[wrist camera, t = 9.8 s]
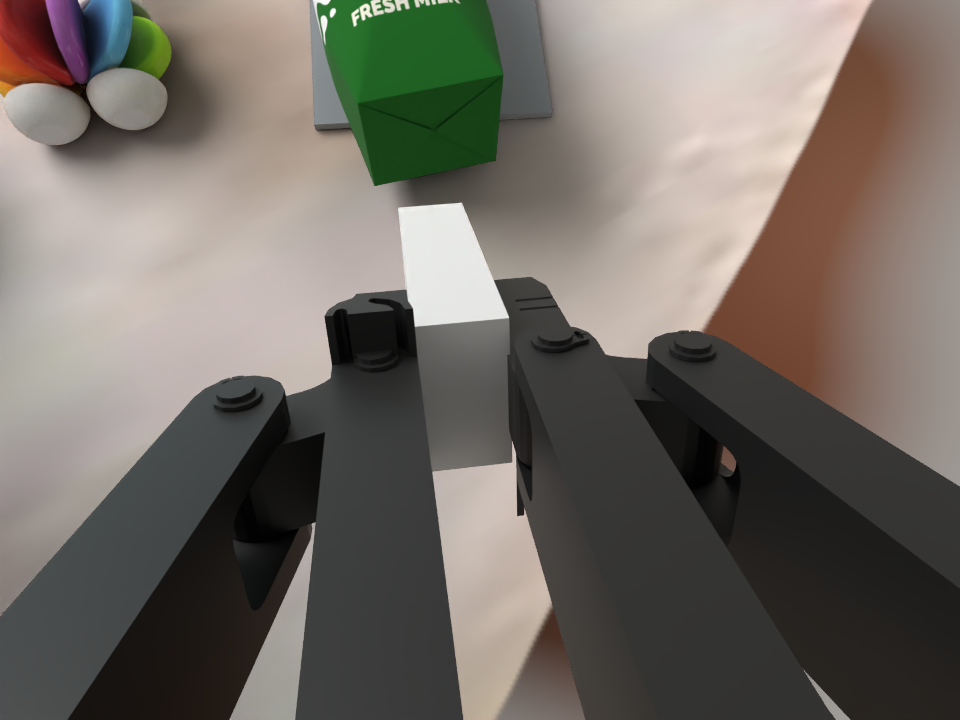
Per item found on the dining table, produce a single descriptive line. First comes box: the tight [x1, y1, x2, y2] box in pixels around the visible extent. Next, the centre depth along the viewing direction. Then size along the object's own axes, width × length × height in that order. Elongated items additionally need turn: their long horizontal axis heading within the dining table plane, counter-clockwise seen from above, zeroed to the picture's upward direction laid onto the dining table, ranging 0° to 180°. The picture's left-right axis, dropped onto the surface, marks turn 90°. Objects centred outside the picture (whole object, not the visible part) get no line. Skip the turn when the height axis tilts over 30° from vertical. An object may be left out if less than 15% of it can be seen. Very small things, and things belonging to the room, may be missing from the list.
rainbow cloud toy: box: [0, 0, 172, 145], centre depth 38 cm, size 8×10×7 cm
